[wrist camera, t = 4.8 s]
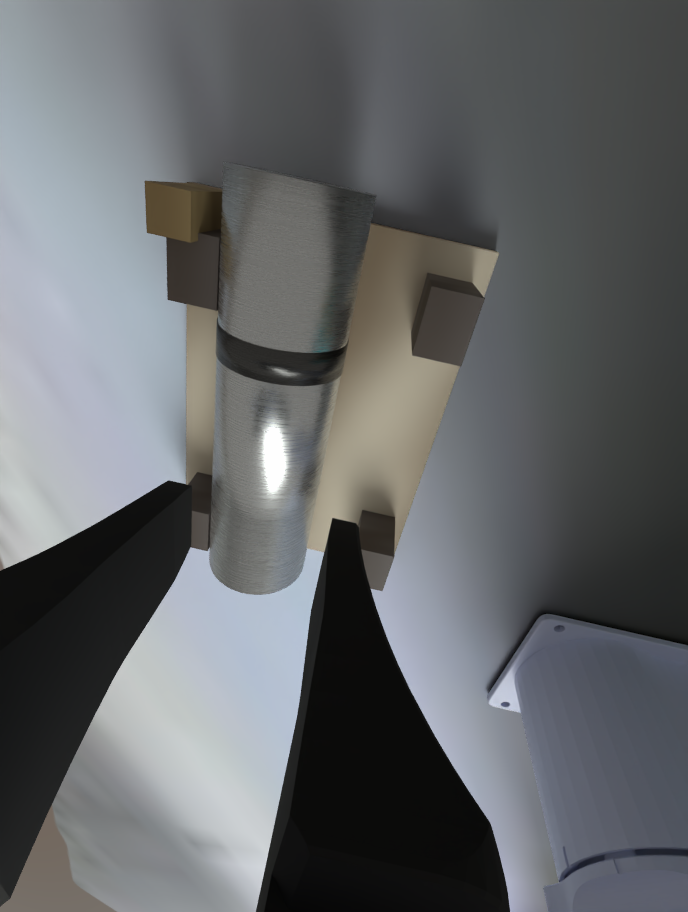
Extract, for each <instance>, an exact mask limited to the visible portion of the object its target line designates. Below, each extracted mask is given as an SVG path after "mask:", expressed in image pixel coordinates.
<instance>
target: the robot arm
mask: <svg viewBox="0 0 688 912" xmlns="http://www.w3.org/2000/svg"><path fill="white" fill-rule="evenodd" d="M191 535H192V486H191V485H186V484H182V483H177V482H173V481H167V482H165V483H164V484H162V485H160V486H158V487H157V488H155V489H153V490H152V491H150V492H148V493H147V494H145V495H143V496H142V497H140V498H139V499H137V500H135V501H134V502H132V503H130V504H129V505H127V506H125V507H124V508H122V509H120V510H119V511H117V512H115V513H114V514H112V515H110V516H108V517H107V518H105V519H103V520H101V521H100V522H98V523H96V524H95V525H93V526H91V527H89V528H87V529H85V530H84V531H82V532H80V533H78V534H76V535H74V536H72V537H70V538H68V539H67V540H65V541H63V542H61V543H59V544H57V545H55V546H53V547H51V548H49V549H47V550H45V551H43V552H41V553H39V554H37V555H35V556H33V557H30V558H28V559H26V560H24V561H22V562H19V563H17V564H15V565H13V566H10V567H8V568H6V569H3V570H1V571H0V906H1V905H3V904H4V903H5V902H6V901H8V900H9V899H10V898H11V895H12V893H13V890H14V888H15V886H16V884H17V881H18V879H19V876H20V874H21V872H22V870H23V867H24V865H25V863H26V860H27V858H28V856H29V854H30V851H31V849H32V847H33V844H34V843H35V840H36V838H37V836H38V833H39V831H40V829H41V827H42V824H43V822H44V820H45V818H46V815H47V813H48V811H49V809H50V807H51V805H52V803H53V801H54V798H55V796H56V794H57V792H58V790H59V788H60V786H61V783H62V781H63V779H64V777H65V775H66V773H67V771H68V768H69V766H70V764H71V762H72V760H73V758H74V756H75V754H76V752H77V750H78V748H79V746H80V744H81V742H82V740H83V738H84V736H85V734H86V732H87V729H88V727H89V725H90V723H91V721H92V719H93V717H94V715H95V713H96V711H97V709H98V708H99V706H100V704H101V702H102V700H103V698H104V696H105V694H106V692H107V690H108V688H109V686H110V684H111V682H112V680H113V678H114V677H115V675H116V673H117V671H118V670H119V668H120V666H121V664H122V663H123V661H124V659H125V658H126V656H127V655H128V653H129V651H130V650H131V648H132V647H133V645H134V644H135V642H136V640H137V639H138V637H139V636H140V634H141V633H142V631H143V629H144V628H145V626H146V625H147V623H148V622H149V620H150V619H151V617H152V615H153V614H154V612H155V611H156V609H157V608H158V606H159V604H160V603H161V601H162V600H163V598H164V596H165V595H166V593H167V592H168V590H169V589H170V587H171V585H172V584H173V582H174V580H175V579H176V577H177V574H178V572H179V570H180V568H181V566H182V564H183V562H184V560H185V558H186V556H187V553H188V551H189V549H190V547H191ZM487 699H488V703H489V704H490V705H491V706H494V707H498V708H502V709H506V710H511V711H515V712H520V713H521V716H522V720H523V725H524V729H525V734H526V738H527V742H528V747H529V751H530V756H531V760H532V765H533V769H534V773H535V778H536V782H537V787H538V791H539V796H540V800H541V804H542V809H543V813H544V818H545V822H546V827H547V831H548V836H549V840H550V844H551V849H552V853H553V858H554V862H555V867H556V871H557V875H558V880H559V883H556V884H553V885H548V886H545V887H544V888H543V889H544V894H545V899H546V904H547V909H548V912H688V645H684V644H680V643H675V642H671V641H666V640H662V639H658V638H653V637H649V636H645V635H640V634H636V633H631V632H627V631H623V630H618V629H614V628H610V627H605V626H601V625H597V624H592V623H588V622H583V621H579V620H575V619H570V618H566V617H562V616H557V615H553V614H544V615H541V616H540V617H539V618H538V619H537V620H536V622H535V623H534V625H533V627H532V628H531V630H530V631H529V633H528V634H527V636H526V637H525V639H524V640H523V642H522V643H521V645H520V646H519V648H518V649H517V651H516V652H515V654H514V655H513V657H512V658H511V660H510V662H509V663H508V665H507V666H506V668H505V669H504V671H503V672H502V674H501V675H500V677H499V678H498V680H497V681H496V683H495V684H494V686H493V687H492V689H491V690H490V692H489V693H488V695H487ZM256 912H510V907H509V899H508V892H507V886H506V881H505V876H504V872H503V868H502V864H501V860H500V856H499V852H498V848H497V844H496V841H495V837H494V834H493V830H492V827H491V824H490V822H489V821H488V819H487V818H486V816H485V815H484V813H483V812H482V810H481V809H480V807H479V806H478V804H477V803H476V801H475V800H474V798H473V797H472V795H471V794H470V792H469V791H468V789H467V788H466V786H465V784H464V783H463V781H462V780H461V778H460V777H459V775H458V773H457V772H456V770H455V769H454V767H453V766H452V764H451V762H450V761H449V759H448V757H447V756H446V754H445V752H444V751H443V749H442V747H441V746H440V744H439V742H438V741H437V739H436V737H435V736H434V734H433V732H432V730H431V728H430V726H429V724H428V723H427V721H426V719H425V717H424V715H423V713H422V711H421V709H420V708H419V706H418V704H417V702H416V700H415V698H414V696H413V695H412V693H411V691H410V689H409V687H408V685H407V682H406V680H405V678H404V676H403V674H402V672H401V670H400V668H399V665H398V663H397V661H396V658H395V656H394V654H393V651H392V649H391V647H390V644H389V642H388V639H387V637H386V634H385V631H384V629H383V626H382V623H381V620H380V617H379V615H378V612H377V609H376V606H375V602H374V599H373V596H372V592H371V589H370V585H369V581H368V578H367V574H366V570H365V566H364V561H363V556H362V551H361V544H360V536H359V527H358V525H357V524H356V523H353V522H349V521H344V520H340V519H336V518H332V522H331V526H330V530H329V534H328V539H327V543H326V547H325V552H324V556H323V560H322V565H321V569H320V573H319V578H318V582H317V587H316V591H315V596H314V600H313V605H312V609H311V616H310V624H309V632H308V639H307V647H306V656H305V664H304V672H303V680H302V688H301V696H300V702H299V708H298V715H297V720H296V725H295V730H294V734H293V739H292V744H291V749H290V754H289V758H288V763H287V768H286V773H285V777H284V782H283V787H282V792H281V796H280V801H279V806H278V811H277V815H276V820H275V825H274V830H273V834H272V839H271V844H270V848H269V853H268V858H267V863H266V867H265V872H264V877H263V881H262V886H261V891H260V895H259V900H258V905H257V909H256Z"/></svg>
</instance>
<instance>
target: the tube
mask: <svg viewBox="0 0 688 912" xmlns="http://www.w3.org/2000/svg"><path fill="white" fill-rule="evenodd" d="M375 200H376V195H374V194H370V193H366V192H362V191H358V190H354V189H350V188H345V187H341V186H337V185H332V184H328V183H324V182H319V181H315V180H310V179H306V178H301V177H297V176H292V175H288V174H283V173H278V172H274V171H269V170H264V169H260V168H255V167H250V166H245V165H240V164H235V163H230V162H223V189H222V217H221V245H220V273H219V301H218V318H217V327H216V385H215V413H214V441H213V469H212V497H211V525H210V553H209V562H210V567H211V570H212V572H213V574H214V575H215V577H216V578H217V579H218V580H219V581H220V582H221V583H223V584H224V585H225V586H227V587H229V588H230V589H233V590H235V591H238V592H241V593H246V594H254V595H262V594H270V593H274V592H277V591H280V590H282V589H284V588H286V587H288V586H289V585H291V584H292V583H293V582H294V581H295V580H296V579H297V578H298V577H299V575H300V574H301V572H302V569H303V566H304V561H305V556H306V551H307V545H308V540H309V535H310V530H311V525H312V520H313V515H314V510H315V505H316V500H317V495H318V490H319V485H320V479H321V474H322V469H323V464H324V459H325V454H326V449H327V444H328V439H329V434H330V429H331V424H332V419H333V413H334V408H335V403H336V398H337V393H338V388H339V383H340V378H341V374H342V372H343V367H344V362H345V357H346V352H347V347H348V342H349V339H348V337H349V332H350V327H351V322H352V317H353V312H354V307H355V302H356V297H357V292H358V287H359V282H360V276H361V271H362V266H363V261H364V256H365V251H366V246H367V241H368V236H369V231H370V226H371V221H372V216H373V210H374V205H375Z"/></svg>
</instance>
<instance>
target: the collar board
mask: <svg viewBox="0 0 688 912" xmlns="http://www.w3.org/2000/svg"><path fill="white" fill-rule="evenodd" d="M145 199H146V224H147V233H151V234H155V235H159V236H164V237H166V239H167V289H168V300H171V301H176V302H180V303H184V304H187V393H186V485H191V486H192V535H191V547H192V548H196V549H201V550H205V551H208V549H209V547H210V525H211V497H212V469H213V441H214V413H215V385H216V327H217V318H218V301H219V273H220V245H221V217H222V189H221V188H217V187H212V186H208V185H204V184H199V183H195V182H187V183H176V182H158V181H145ZM498 255H499V253H498V252H497V251H493V250H489V249H484V248H480V247H476V246H471V245H467V244H463V243H458V242H454V241H449V240H445V239H441V238H436V237H432V236H427V235H423V234H419V233H414V232H410V231H405V230H401V229H397V228H392V227H388V226H384V225H379V224H375V223H371V226H370V231H369V236H368V241H367V246H366V251H365V256H364V261H363V266H362V271H361V276H360V282H359V287H358V292H357V297H356V302H355V307H354V312H353V317H352V322H351V327H350V332H349V337H348V339H349V342H348V347H347V352H346V357H345V362H344V367H343V372H342V374H341V378H340V383H339V388H338V393H337V398H336V403H335V408H334V413H333V419H332V424H331V429H330V434H329V439H328V444H327V449H326V454H325V459H324V464H323V469H322V474H321V479H320V485H319V490H318V495H317V500H316V505H315V510H314V515H313V520H312V525H311V530H310V535H309V540H308V545H307V548H308V549H313V550H317V551H321V552H325V547H326V543H327V539H328V534H329V530H330V526H331V522H332V518H336V519H340V520H344V521H349V522H353V523H356V524H357V525H358V527H359V536H360V544H361V551H362V556H363V561H364V566H365V570H366V574H367V578H368V581H369V585H370V588H371V589H375V590H380V591H383V588H384V585H385V582H386V579H387V576H388V573H389V571H390V568H391V565H392V562H393V559H394V554H395V551H396V548H397V545H398V542H399V539H400V537H401V534H402V531H403V528H404V525H405V522H406V519H407V516H408V514H409V511H410V508H411V505H412V502H413V499H414V496H415V494H416V491H417V488H418V485H419V482H420V479H421V476H422V473H423V471H424V468H425V465H426V462H427V459H428V456H429V453H430V450H431V448H432V445H433V442H434V439H435V436H436V433H437V430H438V428H439V425H440V422H441V419H442V416H443V413H444V410H445V407H446V405H447V402H448V399H449V396H450V393H451V390H452V387H453V385H454V382H455V379H456V376H457V373H458V370H459V367H460V366H461V365H462V362H463V359H464V356H465V354H466V351H467V348H468V345H469V342H470V339H471V336H472V334H473V331H474V328H475V325H476V322H477V319H478V316H479V314H480V311H481V308H482V305H483V302H484V299H485V298H484V296H485V293H486V290H487V287H488V284H489V281H490V278H491V276H492V273H493V270H494V267H495V264H496V261H497V258H498Z"/></svg>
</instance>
